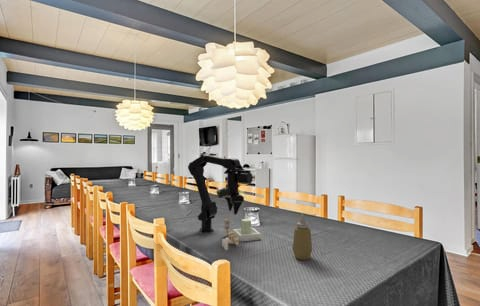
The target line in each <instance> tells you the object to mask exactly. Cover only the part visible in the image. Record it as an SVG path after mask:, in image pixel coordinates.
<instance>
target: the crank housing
mask: <svg viewBox="0 0 480 306" xmlns="http://www.w3.org/2000/svg"><path fill="white" fill-rule="evenodd" d="M238 239H239V238H238ZM229 245H235V243H234V242H233V241H232V240H231V239H229V236H227V237H225V238H224V239H223V238H222V241H221V246H222V248H224V250H225V251H229Z"/></svg>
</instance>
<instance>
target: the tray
mask: <svg viewBox="0 0 480 306" xmlns="http://www.w3.org/2000/svg"><path fill="white" fill-rule="evenodd" d="M232 233H234V234H235V236H236V237H237V238H239V243H241V242H250V241H261V238H262V235H261V234H262V233H260V232H259V231H258V230H256V229H255V228H254V227H251V234H244V235H241V228H234V229H232Z"/></svg>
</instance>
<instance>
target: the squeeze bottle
mask: <svg viewBox="0 0 480 306" xmlns="http://www.w3.org/2000/svg"><path fill="white" fill-rule="evenodd" d="M293 231H294V232H293V238H292V239H293V240H292V251H293V255H294V257H295V258H296V259H298V260H303V261H307V260H309V259H310V257H311V254H312V252H313V243H312V242H313V241H312V233H311V232H312V230H311V228H309V223H308V222H307V221H306V217H305V214H304V213H301V214H300V218H299V221H298V222H297V223H296V227H295V228H294V230H293Z"/></svg>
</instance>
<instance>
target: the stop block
mask: <svg viewBox="0 0 480 306" xmlns="http://www.w3.org/2000/svg"><path fill="white" fill-rule="evenodd" d="M251 228H252V220H251V219H249V218H244V219H240V229H241V235H244V234H251Z"/></svg>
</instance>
